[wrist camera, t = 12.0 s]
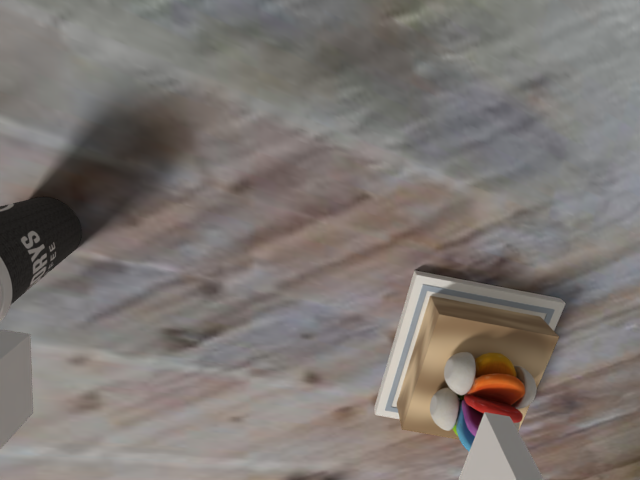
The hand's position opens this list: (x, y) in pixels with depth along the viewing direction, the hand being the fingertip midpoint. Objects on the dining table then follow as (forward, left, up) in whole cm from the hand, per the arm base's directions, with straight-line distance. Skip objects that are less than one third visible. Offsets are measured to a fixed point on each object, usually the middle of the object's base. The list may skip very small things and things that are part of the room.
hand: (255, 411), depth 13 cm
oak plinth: (+16, +21, -31) cm, 41 cm away
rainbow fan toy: (+16, +20, -28) cm, 38 cm away
